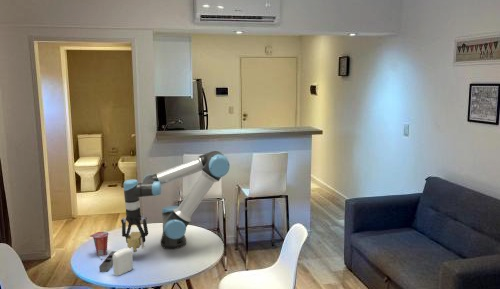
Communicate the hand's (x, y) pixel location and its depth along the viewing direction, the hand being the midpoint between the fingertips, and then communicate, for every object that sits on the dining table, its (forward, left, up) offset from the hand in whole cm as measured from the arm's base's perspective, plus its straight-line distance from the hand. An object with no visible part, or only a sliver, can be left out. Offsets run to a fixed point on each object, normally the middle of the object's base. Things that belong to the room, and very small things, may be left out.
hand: (136, 247), depth 225 cm
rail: (+13, +7, -6) cm, 16 cm away
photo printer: (+2, +16, -6) cm, 17 cm away
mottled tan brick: (0, 0, -1) cm, 1 cm away
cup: (+22, -4, -6) cm, 23 cm away
